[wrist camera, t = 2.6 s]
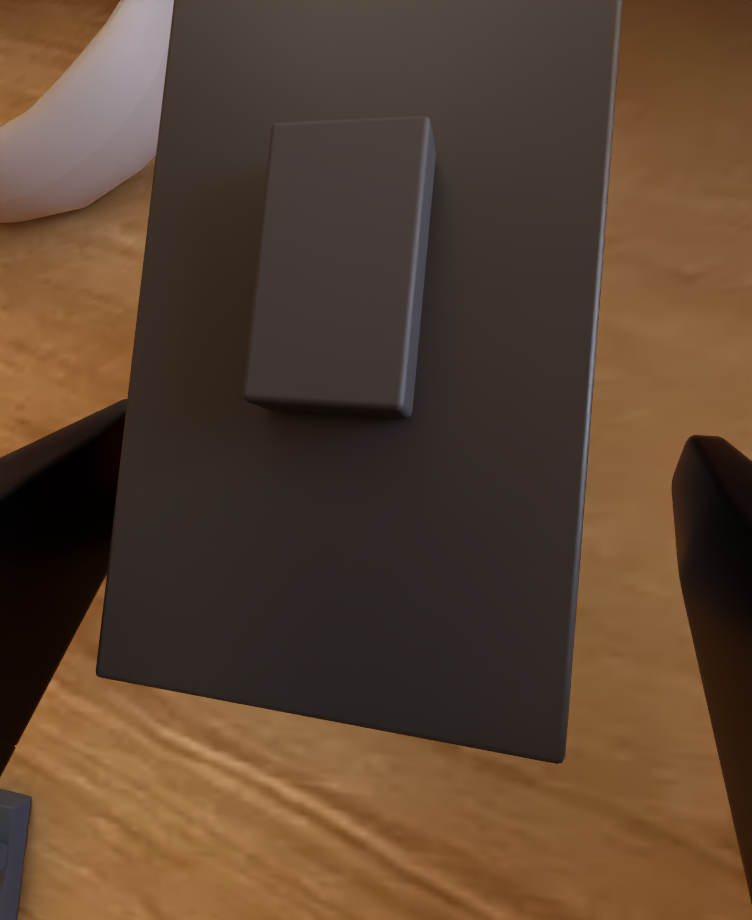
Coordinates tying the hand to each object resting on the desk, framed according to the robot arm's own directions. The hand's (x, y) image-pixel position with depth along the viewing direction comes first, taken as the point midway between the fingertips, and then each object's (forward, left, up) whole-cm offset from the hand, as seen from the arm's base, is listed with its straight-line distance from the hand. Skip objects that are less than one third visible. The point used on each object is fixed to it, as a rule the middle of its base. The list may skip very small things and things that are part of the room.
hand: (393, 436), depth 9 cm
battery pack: (+1, -1, -9) cm, 9 cm away
